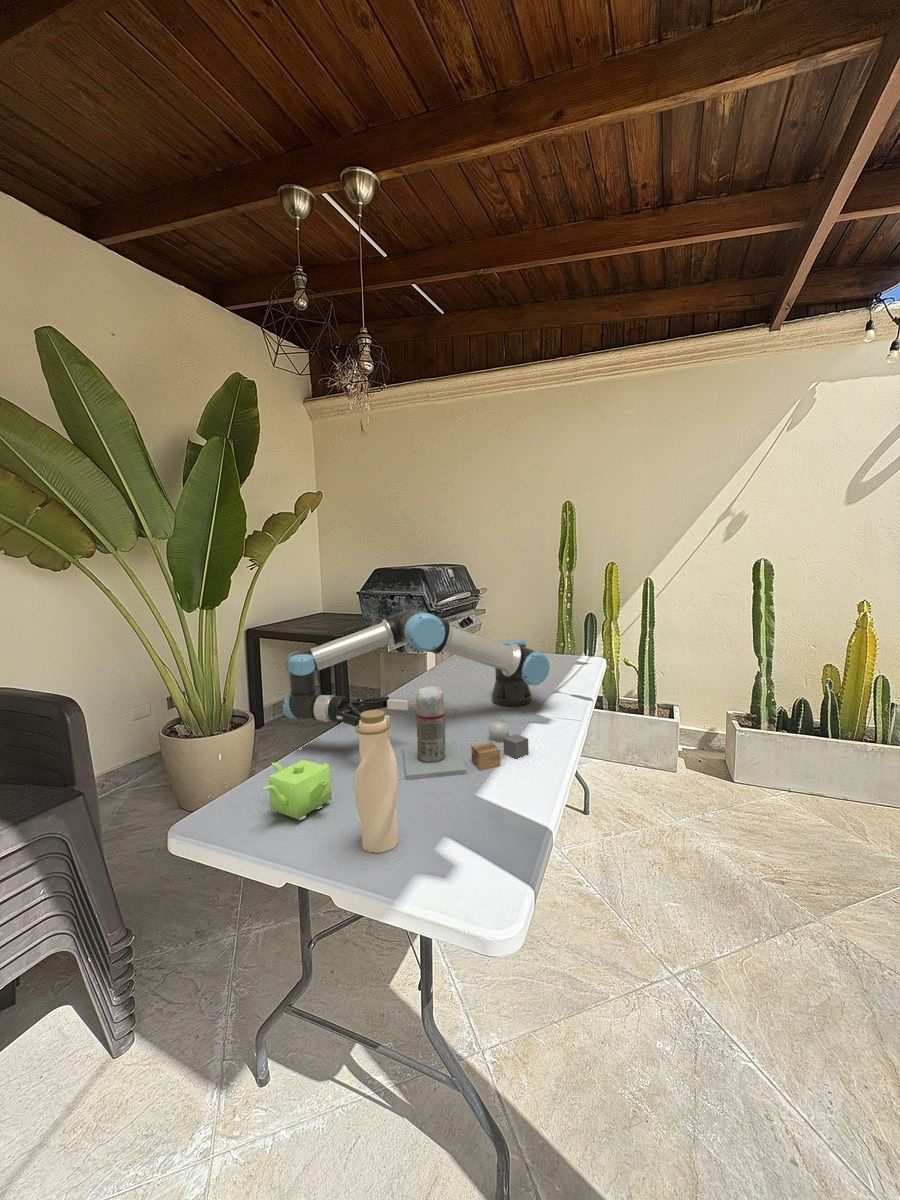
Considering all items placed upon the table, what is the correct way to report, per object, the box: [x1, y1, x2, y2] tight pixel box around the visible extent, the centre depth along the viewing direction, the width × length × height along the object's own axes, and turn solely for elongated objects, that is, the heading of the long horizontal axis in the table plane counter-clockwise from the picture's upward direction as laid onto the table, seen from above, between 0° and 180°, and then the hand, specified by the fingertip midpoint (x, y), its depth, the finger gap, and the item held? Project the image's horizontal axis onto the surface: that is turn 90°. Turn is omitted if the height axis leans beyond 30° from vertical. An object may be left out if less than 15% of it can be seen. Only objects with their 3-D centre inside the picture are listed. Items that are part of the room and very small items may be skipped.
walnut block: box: [470, 741, 501, 771], centre depth 147 cm, size 6×6×5 cm
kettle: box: [262, 759, 333, 820], centre depth 126 cm, size 15×14×11 cm
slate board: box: [402, 741, 467, 781], centre depth 151 cm, size 20×16×1 cm
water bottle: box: [353, 709, 400, 854], centre depth 111 cm, size 10×9×28 cm
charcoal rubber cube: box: [502, 733, 530, 760], centre depth 153 cm, size 5×5×5 cm
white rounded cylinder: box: [488, 719, 510, 743], centre depth 165 cm, size 6×6×5 cm
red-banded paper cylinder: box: [415, 685, 446, 762], centre depth 150 cm, size 8×8×20 cm
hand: (399, 712), depth 152 cm, fingers open, 13 cm apart
